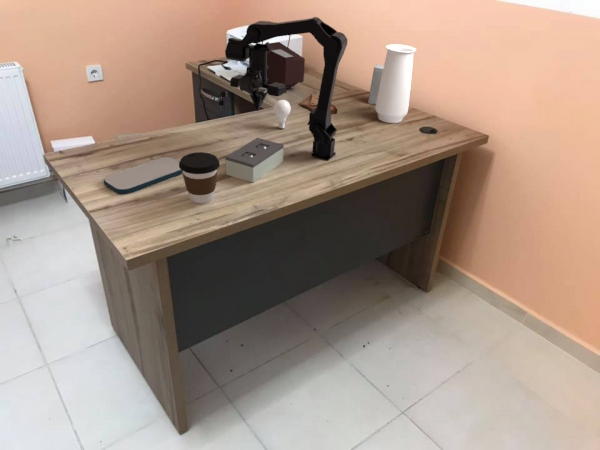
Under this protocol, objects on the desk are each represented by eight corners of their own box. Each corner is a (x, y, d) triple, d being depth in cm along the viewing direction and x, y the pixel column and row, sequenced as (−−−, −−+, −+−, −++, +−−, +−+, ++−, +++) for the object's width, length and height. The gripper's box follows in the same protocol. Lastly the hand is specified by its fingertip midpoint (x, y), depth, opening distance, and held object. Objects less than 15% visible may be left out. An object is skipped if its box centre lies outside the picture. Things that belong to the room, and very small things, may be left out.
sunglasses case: (295, 104, 212) (302, 89, 210) (306, 109, 217) (313, 95, 216) (321, 117, 200) (329, 102, 199) (332, 123, 205) (339, 108, 204)
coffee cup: (174, 197, 140) (170, 158, 134) (206, 185, 147) (204, 148, 140) (196, 212, 134) (193, 172, 127) (229, 199, 140) (227, 161, 134)
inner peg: (268, 161, 162) (268, 145, 159) (263, 164, 159) (263, 149, 156) (260, 159, 163) (260, 143, 160) (255, 162, 160) (255, 146, 158)
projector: (277, 77, 244) (278, 23, 230) (307, 90, 229) (311, 33, 215) (249, 82, 234) (249, 26, 221) (279, 96, 220) (281, 37, 206)
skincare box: (367, 104, 217) (372, 67, 208) (370, 99, 223) (375, 63, 214) (387, 106, 215) (392, 70, 206) (389, 101, 221) (394, 65, 212)
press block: (283, 161, 163) (283, 144, 160) (253, 182, 150) (253, 164, 146) (257, 154, 167) (257, 137, 164) (226, 174, 153) (225, 156, 150)
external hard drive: (167, 160, 160) (167, 155, 159) (190, 172, 154) (189, 166, 153) (100, 184, 145) (99, 178, 144) (121, 198, 139) (120, 192, 138)
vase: (406, 126, 196) (419, 53, 181) (373, 122, 198) (383, 50, 183) (405, 115, 207) (417, 45, 192) (374, 111, 209) (384, 42, 194)
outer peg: (255, 170, 156) (255, 154, 153) (249, 174, 153) (249, 157, 150) (247, 168, 157) (247, 152, 154) (241, 171, 154) (241, 155, 151)
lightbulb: (290, 126, 190) (292, 97, 184) (288, 132, 185) (290, 103, 179) (274, 124, 191) (275, 96, 185) (272, 130, 185) (272, 102, 179)
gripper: (219, 63, 157) (221, 111, 166) (269, 74, 150) (268, 123, 159) (239, 56, 166) (239, 102, 174) (287, 66, 159) (286, 113, 167)
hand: (257, 110), depth 168 cm, fingers closed
